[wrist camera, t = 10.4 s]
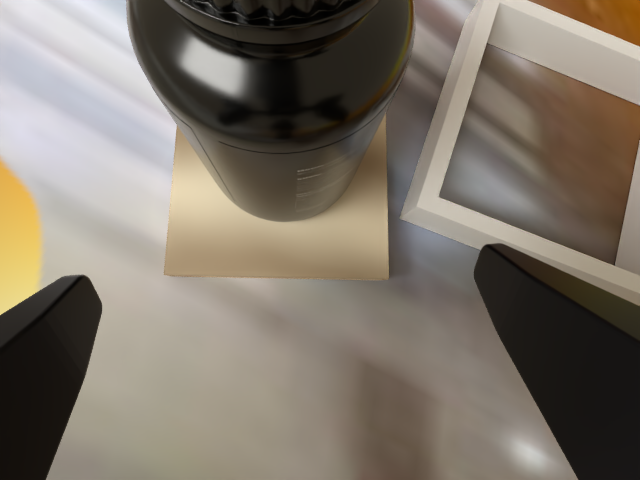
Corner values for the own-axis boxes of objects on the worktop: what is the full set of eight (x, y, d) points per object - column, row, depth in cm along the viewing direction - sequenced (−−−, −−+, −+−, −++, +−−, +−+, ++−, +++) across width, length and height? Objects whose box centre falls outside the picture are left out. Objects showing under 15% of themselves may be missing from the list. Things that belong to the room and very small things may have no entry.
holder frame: (621, 304, 18) (672, 306, 16) (399, 218, 18) (416, 206, 15) (660, 101, 20) (710, 75, 18) (464, 21, 20) (488, -16, 18)
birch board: (381, 280, 17) (388, 279, 16) (172, 276, 16) (163, 274, 15) (378, 61, 19) (384, 46, 18) (192, 46, 18) (185, 29, 17)
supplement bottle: (350, 89, 17) (489, -367, 5) (358, 223, 16) (553, 23, 4) (209, 87, 16) (11, -441, 5) (207, 226, 15) (-57, 0, 4)
